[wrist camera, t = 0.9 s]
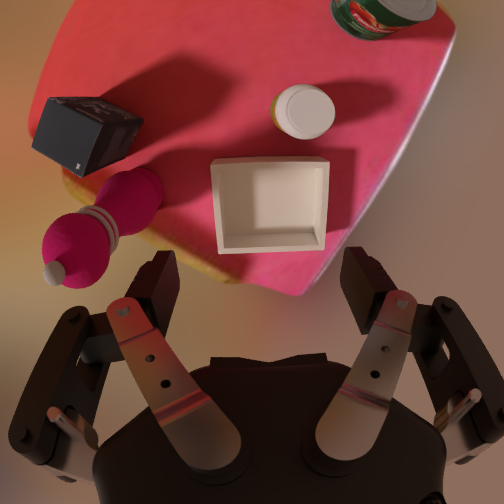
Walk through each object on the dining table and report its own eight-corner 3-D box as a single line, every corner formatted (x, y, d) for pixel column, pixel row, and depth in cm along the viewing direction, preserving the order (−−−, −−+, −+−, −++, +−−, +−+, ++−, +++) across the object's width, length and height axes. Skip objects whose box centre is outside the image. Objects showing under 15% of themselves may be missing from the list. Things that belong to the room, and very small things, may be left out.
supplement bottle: (275, 84, 27) (287, 72, 18) (321, 97, 27) (350, 91, 19) (265, 128, 29) (271, 133, 21) (310, 139, 30) (334, 150, 21)
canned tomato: (341, 43, 24) (381, 18, 14) (320, -9, 20) (348, -49, 10) (396, 40, 23) (447, 25, 13) (376, -9, 19) (418, -38, 9)
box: (145, 118, 28) (103, 124, 19) (125, 159, 30) (81, 181, 21) (97, 95, 26) (46, 96, 17) (80, 134, 28) (29, 149, 19)
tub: (214, 158, 31) (210, 164, 27) (320, 156, 31) (329, 162, 27) (221, 239, 36) (218, 254, 32) (316, 235, 36) (324, 249, 32)
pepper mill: (110, 170, 31) (1, 240, 13) (161, 158, 30) (63, 222, 13) (124, 221, 34) (40, 320, 17) (172, 213, 34) (106, 321, 16)
